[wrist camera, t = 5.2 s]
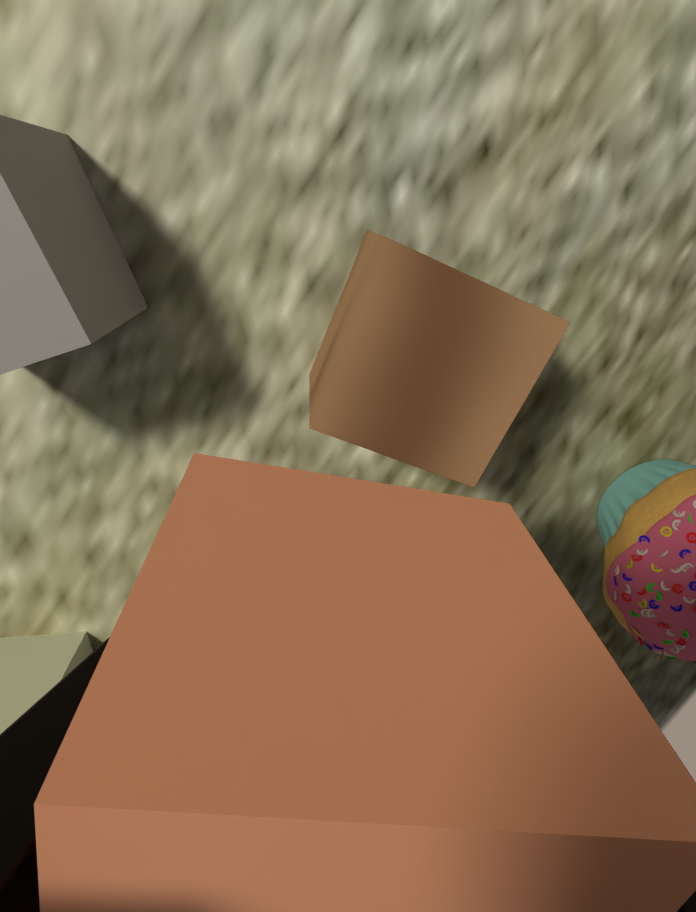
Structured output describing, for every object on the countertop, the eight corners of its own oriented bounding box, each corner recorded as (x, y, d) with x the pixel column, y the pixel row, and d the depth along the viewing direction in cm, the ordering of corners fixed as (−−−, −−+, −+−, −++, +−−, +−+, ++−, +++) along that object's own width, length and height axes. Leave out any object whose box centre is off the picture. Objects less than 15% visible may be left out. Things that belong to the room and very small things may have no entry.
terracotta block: (510, 503, 9) (736, 844, 4) (424, 714, 12) (512, 1095, 7) (194, 452, 8) (33, 802, 4) (170, 691, 11) (52, 1107, 6)
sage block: (87, 630, 25) (31, 736, 20) (113, 710, 27) (69, 823, 22) (-33, 638, 24) (-120, 748, 20) (4, 719, 27) (-65, 835, 22)
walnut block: (503, 292, 19) (570, 322, 14) (435, 422, 21) (474, 487, 16) (367, 229, 18) (389, 238, 13) (309, 373, 20) (309, 428, 15)
